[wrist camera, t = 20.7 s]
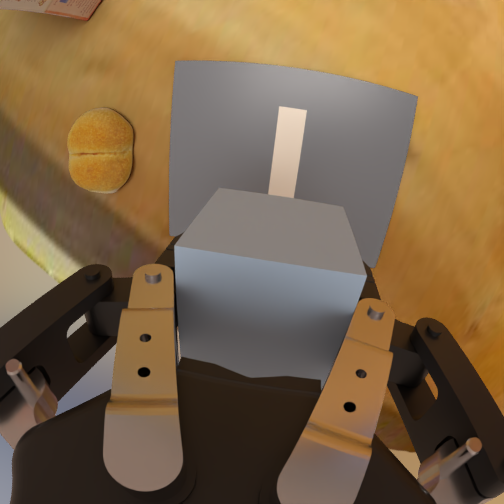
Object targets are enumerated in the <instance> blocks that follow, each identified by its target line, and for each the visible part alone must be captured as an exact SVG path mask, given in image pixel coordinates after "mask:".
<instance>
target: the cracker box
mask: <svg viewBox="0 0 504 504" xmlns="http://www.w3.org/2000/svg"><path fill="white" fill-rule="evenodd" d="M101 1H102V0H0V9H9V10H21V11H30V12H38V13H45V14H52V15H58V16H64V17H70V18H75V19H80V20H85V21H88V19H89V18H90V16H91V15H92V13H93V12H94V10H95V9H96V8H97V6H98V5H99V3H100V2H101Z"/></svg>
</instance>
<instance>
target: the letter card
mask: <svg viewBox="0 0 504 504" xmlns="http://www.w3.org/2000/svg"><path fill="white" fill-rule="evenodd" d="M417 99H418V96H415V95H412V94H408V93H405V92H402V91H399V90H395V89H392V88H388V87H385V86H381V85H377V84H374V83H370V82H366V81H362V80H357V79H353V78H348V77H344V76H339V75H334V74H329V73H324V72H318V71H312V70H306V69H299V68H292V67H285V66H277V65H267V64H257V63H244V62H227V61H175V72H174V84H173V97H172V113H171V133H170V164H169V231H170V236H178V235H180V234H182V233H183V232H185V231H186V229H187V228H188V227H189V226H190V224H191V223H192V222H193V220H194V219H195V218H196V216H197V215H198V214H199V213H200V211H201V210H202V209H203V207H204V206H205V205H206V204H207V202H208V201H209V200H210V199H211V197H212V196H213V195H214V193H215V192H216V191H217V190H218V188H225V189H233V190H240V191H248V192H255V193H262V194H269V195H276V196H282V197H289V198H295V199H301V200H307V201H313V202H319V203H325V204H331V205H336V206H342V207H343V208H344V210H345V213H346V216H347V218H348V221H349V224H350V227H351V229H352V232H353V235H354V238H355V241H356V244H357V247H358V250H359V253H360V256H361V259H362V261H364V262H365V263H366V264H367V265H368V266H369V267H371V268H375V266H376V263H377V260H378V257H379V254H380V251H381V248H382V245H383V242H384V239H385V235H386V232H387V229H388V225H389V222H390V219H391V215H392V212H393V208H394V205H395V201H396V197H397V193H398V190H399V186H400V182H401V178H402V174H403V170H404V165H405V161H406V157H407V152H408V147H409V143H410V138H411V133H412V128H413V122H414V117H415V111H416V105H417Z"/></svg>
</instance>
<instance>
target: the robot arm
mask: <svg viewBox="0 0 504 504" xmlns="http://www.w3.org/2000/svg"><path fill="white" fill-rule="evenodd" d="M183 233H184V232H183ZM183 233H182V234H180V235H178V236H176V237H175V238H174V239H173V240H172V242H171V243H170V245H168V247H167V248H166V250H165V251H164V252H163V253H162V255H161V256H160V257H159V258H158V260H157V261H156V262H155V264H148V265H144V266H142V267H140V268H138V269H137V270H136V271H135V272H134V275H133V277H131V278H112V272H111V270H110V268H109V267H107V266H105V265H100V264H94V265H89V266H86V267H83V268H82V269H80V270H78V271H77V272H76V273H74V274H73V275H71V276H70V277H68V278H67V279H65V280H64V281H63V282H61V283H60V284H58V285H57V286H56V287H54V288H53V289H51V290H50V291H48V292H47V293H46V294H44V295H43V296H42V297H40V298H39V299H37V300H36V301H35V302H34V303H32V304H31V305H29V306H28V307H27V308H25V309H24V310H23V311H22V312H20V313H19V314H18V315H16V316H15V317H14V318H12V319H11V320H10V321H8V322H7V323H6V324H5V325H3V326H2V327H1V328H0V434H1V435H2V436H3V437H4V438H5V440H6V441H7V442H8V443H9V444H10V446H11V447H12V448H13V449H14V453H13V458H12V477H13V480H12V495H11V501H10V504H484V503H486V502H488V501H490V500H491V499H493V498H495V497H497V496H498V495H500V494H502V493H503V492H504V417H503V415H502V413H501V411H500V409H499V408H498V406H497V404H496V403H495V401H494V399H493V398H492V396H491V394H490V393H489V391H488V389H487V388H486V386H485V384H484V383H483V381H482V380H481V378H480V376H479V375H478V373H477V372H476V370H475V369H474V367H473V366H472V364H471V363H470V361H469V359H468V358H467V357H466V355H465V354H464V352H463V351H462V349H461V348H460V346H459V345H458V343H457V342H456V340H455V339H454V338H453V336H452V335H451V333H450V332H449V331H448V329H447V328H446V327H445V326H444V325H443V324H442V323H440V322H439V321H437V320H435V319H432V318H421V319H419V320H418V321H417V323H416V325H415V327H414V326H411V325H408V324H405V323H402V322H400V321H398V320H396V319H395V313H394V311H393V309H392V308H391V307H390V306H389V305H388V304H386V303H385V302H383V301H381V299H380V296H379V293H378V290H377V287H376V284H375V281H374V278H373V275H372V272H371V269H370V267H369V266H368V265H367V264H366V263H365V262H364V261H362V262H363V265H364V268H365V271H366V274H367V278H366V281H365V283H364V286H363V289H362V292H361V295H360V297H359V300H358V303H357V306H356V308H355V311H354V314H353V316H352V319H351V321H350V324H349V326H348V329H347V331H346V334H345V336H344V339H343V341H342V344H341V346H340V348H339V351H338V354H337V356H336V358H335V361H334V363H333V365H332V368H331V370H330V372H329V374H328V377H327V379H326V381H325V383H324V386H323V388H322V390H321V380H319V379H309V378H301V377H293V376H276V377H256V378H251V377H247V376H244V375H241V374H239V373H236V372H234V371H231V370H229V369H226V368H224V367H222V366H219V365H217V364H214V363H209V362H204V361H200V360H195V359H191V358H186V357H181V359H180V362H179V357H178V340H177V326H178V314H177V298H176V279H175V253H174V245H175V244H176V243H177V241H178V240H179V239H180V237H181V236H182V235H183ZM83 314H85V318H86V321H87V322H86V323H84V324H83V325H82V326H81V327H80V328H79V329H77V330H76V331H75V332H74V333H73V334H72V335H70V336H69V337H68V338H67V331H68V329H69V327H70V326H71V325H72V324H73V323H74V322H75V321H76V320H78V319H79V318H80V317H81V316H82V315H83ZM116 343H117V345H116V353H115V361H114V369H113V380H112V389H110V390H108V391H106V392H104V393H102V394H100V395H98V396H96V397H94V398H92V399H90V400H88V401H86V402H84V403H82V404H80V405H78V406H76V407H74V408H72V409H70V410H68V411H66V412H64V413H62V414H59V415H57V416H55V413H56V411H57V407H58V401H59V400H60V399H61V398H62V397H63V396H64V395H65V394H66V393H67V392H68V391H69V390H70V389H71V388H72V387H73V386H74V385H75V384H76V383H77V382H78V381H79V380H80V379H81V378H82V377H83V376H84V375H85V374H86V373H87V372H88V371H89V370H90V369H91V367H93V366H94V365H95V364H96V363H97V361H99V360H100V359H101V358H102V357H103V356H104V355H105V354H106V353H107V352H108V351H109V350H110V349H111V348H112V347H113V346H114V345H115V344H116ZM428 373H429V374H430V375H431V377H432V379H433V381H434V382H435V384H436V386H437V389H438V397H437V400H436V399H435V397H434V395H433V393H432V392H431V390H430V388H429V386H428V384H427V382H426V380H425V377H426V376H427V374H428ZM386 386H388V388H389V391H390V393H391V395H392V397H393V399H394V402H395V404H396V406H397V408H398V411H399V413H400V415H401V418H402V420H403V422H404V425H405V427H406V429H407V432H408V434H409V436H410V439H411V441H412V444H413V446H414V448H415V451H416V453H417V456H418V458H419V460H420V463H421V465H420V467H419V471H418V479H417V480H416V478H415V477H414V476H413V475H412V474H411V473H410V472H409V471H408V470H407V469H406V468H405V467H404V465H403V464H402V463H401V462H400V461H399V460H398V459H397V458H396V457H395V456H394V455H393V453H392V452H391V451H390V450H389V449H388V448H387V447H386V446H385V445H384V443H383V442H382V441H381V440H380V439H379V438H378V437H377V436H376V435H375V433H374V432H375V428H376V425H377V421H378V418H379V414H380V410H381V407H382V403H383V399H384V395H385V391H386Z"/></svg>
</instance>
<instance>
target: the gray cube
mask: <svg viewBox="0 0 504 504" xmlns="http://www.w3.org/2000/svg"><path fill="white" fill-rule="evenodd" d="M174 253H175V279H176V298H177V314H178V328H179V339H180V352H181V357H186V358H191V359H195V360H200V361H204V362H209V363H214V364H217V365H219V366H222V367H224V368H226V369H229V370H231V371H234V372H236V373H239V374H241V375H244V376H247V377H251V378H256V377H276V376H293V377H301V378H309V379H319V380H321V389H322V387H323V385H324V382H325V380H326V378H327V376H328V374H329V371H330V369H331V367H332V365H333V362H334V360H335V358H336V355H337V353H338V351H339V348H340V346H341V344H342V341H343V339H344V336H345V334H346V331H347V329H348V326H349V324H350V321H351V319H352V316H353V314H354V311H355V308H356V306H357V303H358V300H359V297H360V295H361V292H362V289H363V286H364V283H365V281H366V278H367V274H366V271H365V268H364V265H363V262H362V259H361V256H360V253H359V250H358V247H357V244H356V241H355V238H354V235H353V232H352V229H351V227H350V224H349V221H348V218H347V216H346V213H345V210H344V208H343V207H342V206H336V205H331V204H325V203H319V202H313V201H307V200H301V199H295V198H289V197H282V196H276V195H269V194H262V193H255V192H248V191H240V190H233V189H225V188H218V190H217V191H216V192H215V193H214V195H213V196H212V197H211V199H210V200H209V201H208V202H207V204H206V205H205V206H204V207H203V209H202V210H201V211H200V213H199V214H198V215H197V216H196V218H195V219H194V220H193V222H192V223H191V224H190V226H189V227H188V228H187V229H186V231H185V232H184V233H183V235H182V236H181V237H180V239H179V240H178V241H177V243H176V244H175V245H174Z"/></svg>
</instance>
